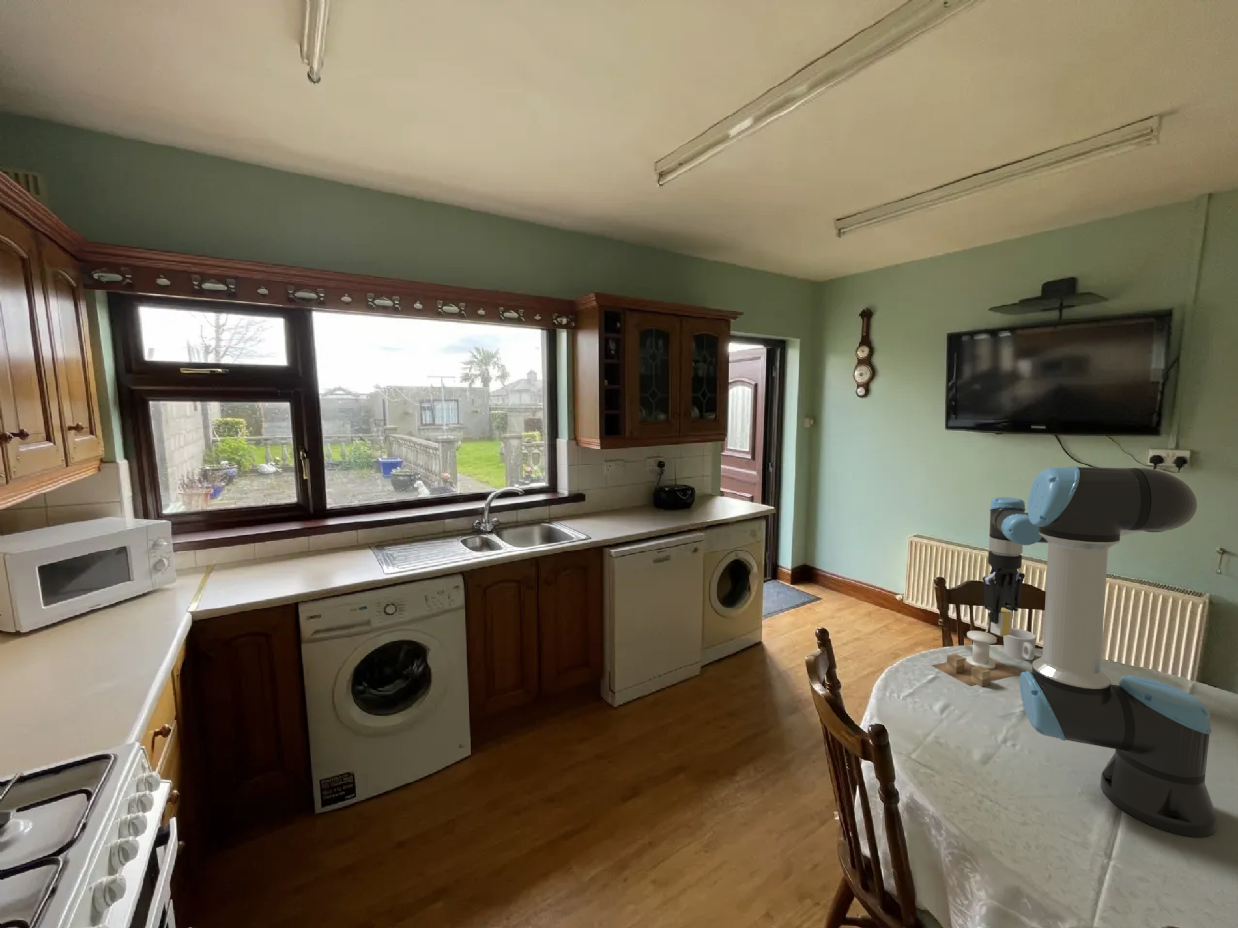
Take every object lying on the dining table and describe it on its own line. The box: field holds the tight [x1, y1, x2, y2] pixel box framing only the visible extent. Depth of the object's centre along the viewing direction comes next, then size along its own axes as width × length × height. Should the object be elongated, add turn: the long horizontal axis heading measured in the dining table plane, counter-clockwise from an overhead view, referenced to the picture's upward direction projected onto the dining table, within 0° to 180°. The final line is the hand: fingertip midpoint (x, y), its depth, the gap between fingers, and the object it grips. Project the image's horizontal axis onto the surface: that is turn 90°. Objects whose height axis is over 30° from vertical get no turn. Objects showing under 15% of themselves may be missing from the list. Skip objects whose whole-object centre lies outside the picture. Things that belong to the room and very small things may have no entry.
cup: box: [1002, 627, 1037, 661], centre depth 151 cm, size 11×8×8 cm
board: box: [931, 653, 1023, 688], centre depth 145 cm, size 13×20×5 cm, turn 107°
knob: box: [965, 630, 997, 670], centre depth 148 cm, size 7×7×9 cm
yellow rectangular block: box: [993, 607, 1011, 637], centre depth 144 cm, size 3×3×7 cm
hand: (1000, 632), depth 144 cm, fingers closed on yellow rectangular block, 3 cm apart
